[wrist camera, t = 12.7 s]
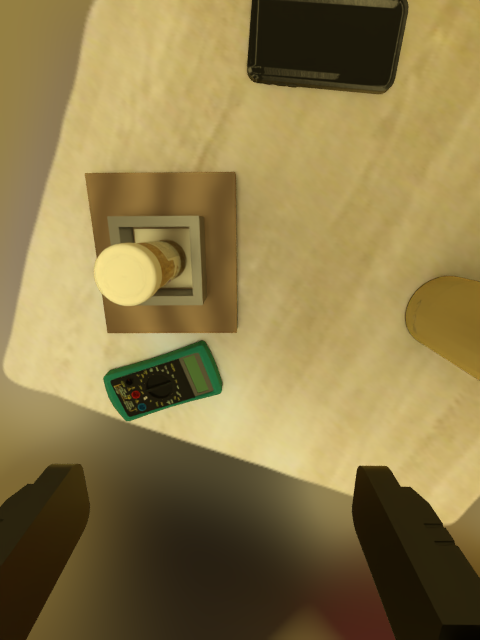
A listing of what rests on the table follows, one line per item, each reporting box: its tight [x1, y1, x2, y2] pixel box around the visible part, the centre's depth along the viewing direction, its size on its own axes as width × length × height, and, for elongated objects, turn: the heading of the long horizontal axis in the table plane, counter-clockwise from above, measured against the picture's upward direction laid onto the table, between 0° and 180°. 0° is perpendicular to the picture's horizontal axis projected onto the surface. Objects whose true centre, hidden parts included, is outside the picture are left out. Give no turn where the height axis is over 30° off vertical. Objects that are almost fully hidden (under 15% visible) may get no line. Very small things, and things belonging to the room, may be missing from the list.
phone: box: [247, 0, 408, 94], centre depth 30 cm, size 8×1×15 cm
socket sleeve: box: [107, 216, 207, 306], centre depth 33 cm, size 9×9×4 cm
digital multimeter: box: [103, 341, 222, 421], centre depth 40 cm, size 7×15×3 cm, turn 109°
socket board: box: [85, 172, 237, 333], centre depth 35 cm, size 16×18×2 cm
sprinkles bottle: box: [94, 239, 186, 306], centre depth 28 cm, size 5×5×14 cm
